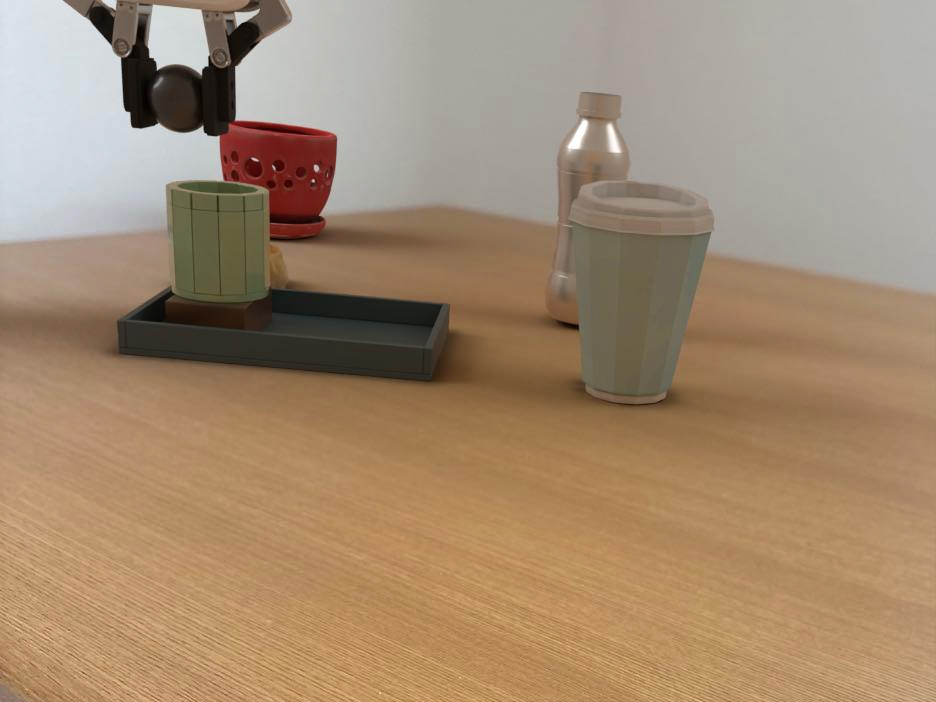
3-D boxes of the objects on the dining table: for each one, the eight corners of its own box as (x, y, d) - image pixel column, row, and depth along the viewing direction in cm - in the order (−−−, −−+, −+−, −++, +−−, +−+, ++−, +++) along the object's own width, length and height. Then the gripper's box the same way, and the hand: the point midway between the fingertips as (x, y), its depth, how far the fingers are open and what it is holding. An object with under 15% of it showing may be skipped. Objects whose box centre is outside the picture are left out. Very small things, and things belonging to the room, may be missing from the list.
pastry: (194, 295, 102) (192, 252, 101) (174, 279, 107) (172, 238, 106) (294, 291, 107) (293, 250, 105) (270, 276, 112) (269, 237, 110)
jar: (159, 297, 86) (153, 189, 83) (188, 278, 93) (183, 177, 89) (256, 306, 86) (254, 198, 83) (278, 286, 93) (277, 185, 90)
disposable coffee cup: (709, 417, 82) (741, 205, 76) (564, 412, 80) (586, 195, 74) (670, 374, 92) (696, 183, 86) (540, 369, 90) (557, 173, 84)
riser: (166, 339, 86) (164, 300, 85) (200, 313, 95) (199, 277, 93) (245, 346, 87) (244, 308, 85) (272, 319, 95) (272, 283, 94)
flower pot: (279, 247, 125) (279, 133, 120) (197, 228, 132) (193, 119, 127) (358, 237, 136) (360, 131, 131) (279, 219, 142) (278, 118, 137)
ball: (137, 132, 69) (134, 61, 68) (160, 126, 73) (157, 60, 71) (202, 138, 69) (200, 68, 68) (221, 133, 73) (220, 66, 71)
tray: (118, 353, 84) (116, 320, 83) (181, 307, 98) (179, 278, 97) (430, 381, 84) (432, 349, 83) (448, 332, 98) (450, 303, 97)
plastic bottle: (601, 336, 101) (628, 98, 93) (531, 324, 103) (551, 90, 95) (622, 322, 107) (648, 97, 99) (555, 311, 109) (575, 89, 101)
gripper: (330, -185, 67) (325, 139, 75) (50, -215, 67) (73, 112, 75) (301, -210, 60) (298, 150, 68) (-11, -243, 60) (22, 121, 68)
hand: (180, 127), depth 71 cm, fingers closed on ball, 3 cm apart
